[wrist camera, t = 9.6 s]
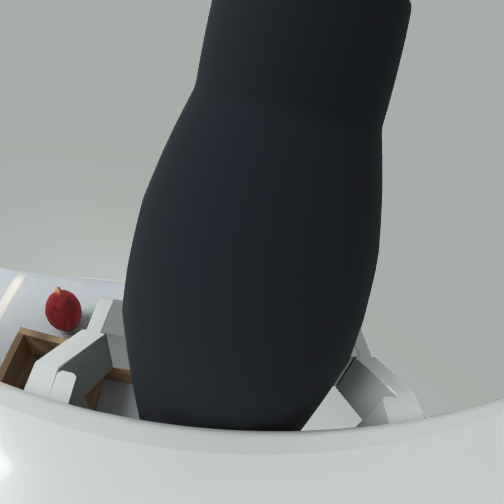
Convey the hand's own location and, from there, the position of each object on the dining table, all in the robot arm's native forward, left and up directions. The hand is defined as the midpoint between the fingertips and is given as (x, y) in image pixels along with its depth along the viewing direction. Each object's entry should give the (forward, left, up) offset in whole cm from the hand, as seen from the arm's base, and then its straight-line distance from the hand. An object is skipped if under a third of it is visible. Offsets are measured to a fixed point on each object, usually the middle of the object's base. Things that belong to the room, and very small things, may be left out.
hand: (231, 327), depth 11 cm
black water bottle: (0, -1, -12) cm, 12 cm away
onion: (-21, +23, -30) cm, 43 cm away
